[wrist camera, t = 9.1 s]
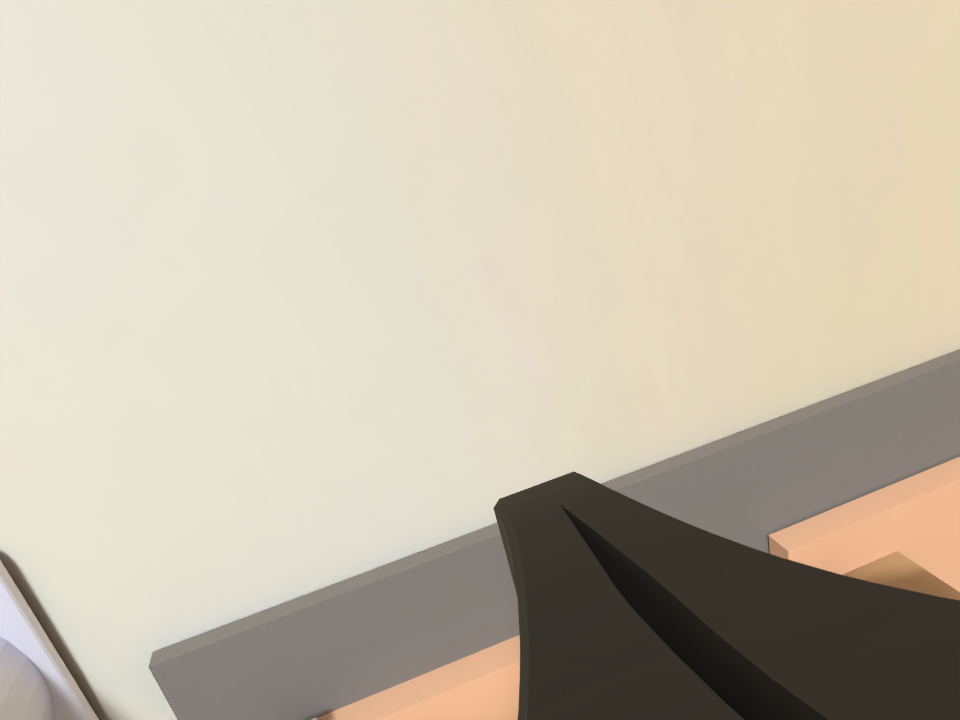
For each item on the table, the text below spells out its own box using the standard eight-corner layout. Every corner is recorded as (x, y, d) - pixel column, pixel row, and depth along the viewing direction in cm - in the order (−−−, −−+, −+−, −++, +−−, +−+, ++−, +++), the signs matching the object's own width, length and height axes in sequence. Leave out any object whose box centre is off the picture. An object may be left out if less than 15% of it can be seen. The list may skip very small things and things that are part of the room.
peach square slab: (785, 733, 27) (864, 825, 23) (768, 535, 23) (858, 607, 20) (981, 640, 29) (1084, 712, 25) (993, 442, 25) (1114, 493, 21)
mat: (341, 998, 25) (343, 1017, 25) (152, 652, 19) (149, 667, 18) (965, 692, 31) (978, 702, 30) (983, 340, 24) (999, 345, 24)
